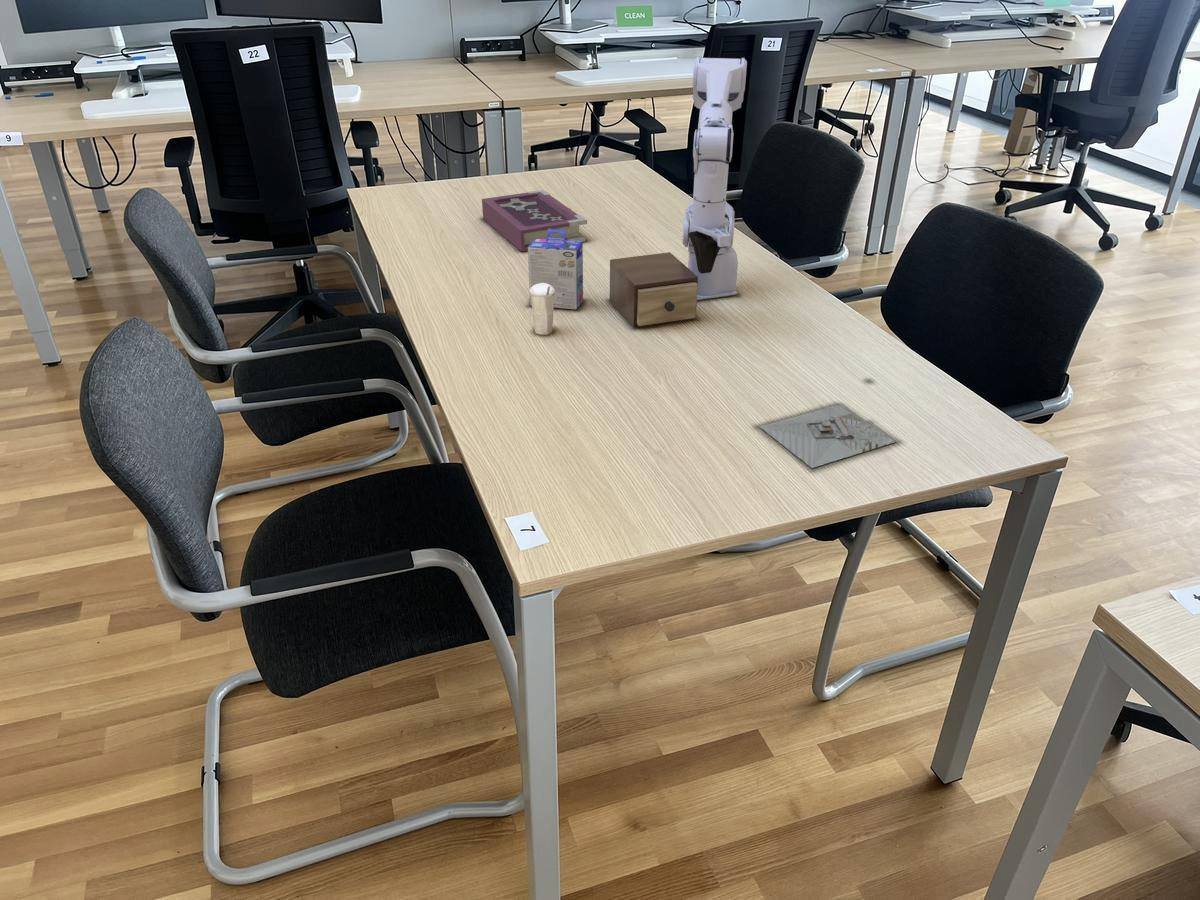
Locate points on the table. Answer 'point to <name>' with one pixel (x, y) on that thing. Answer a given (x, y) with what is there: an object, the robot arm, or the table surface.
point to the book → (531, 218)
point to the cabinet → (644, 280)
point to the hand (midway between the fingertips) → (704, 271)
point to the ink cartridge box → (558, 268)
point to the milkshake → (542, 307)
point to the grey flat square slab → (826, 435)
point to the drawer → (666, 303)
